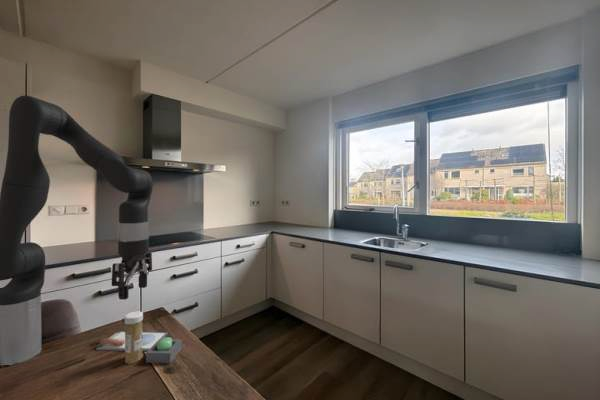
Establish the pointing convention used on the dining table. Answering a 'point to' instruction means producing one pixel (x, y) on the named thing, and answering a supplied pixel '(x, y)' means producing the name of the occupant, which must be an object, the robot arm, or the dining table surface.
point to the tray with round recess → (148, 341)
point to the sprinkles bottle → (133, 337)
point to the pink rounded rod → (112, 341)
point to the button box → (163, 353)
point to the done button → (164, 344)
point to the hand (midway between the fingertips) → (133, 292)
